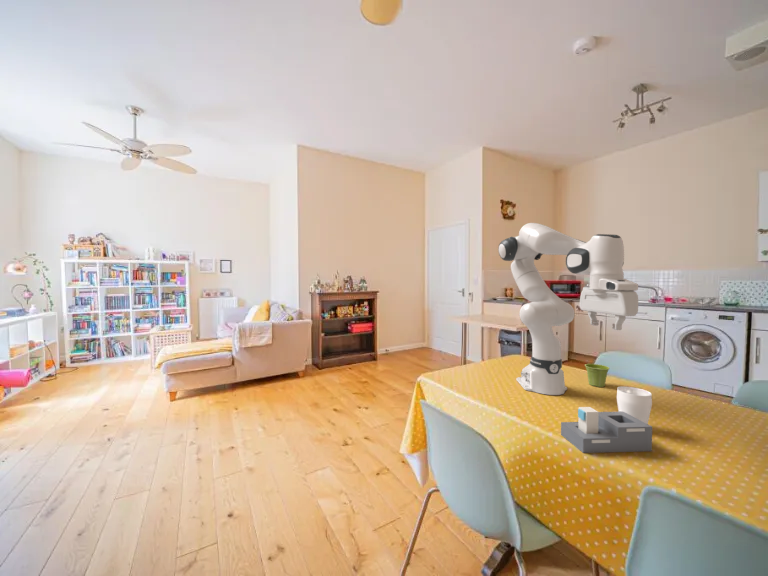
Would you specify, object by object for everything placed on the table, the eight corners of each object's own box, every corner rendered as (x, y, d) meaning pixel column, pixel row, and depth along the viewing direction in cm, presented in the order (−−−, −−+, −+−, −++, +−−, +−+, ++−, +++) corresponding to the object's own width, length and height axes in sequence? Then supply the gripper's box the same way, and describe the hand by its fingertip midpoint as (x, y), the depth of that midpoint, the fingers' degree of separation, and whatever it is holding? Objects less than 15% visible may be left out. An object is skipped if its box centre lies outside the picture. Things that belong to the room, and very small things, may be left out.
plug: (576, 436, 93) (576, 407, 93) (589, 436, 93) (589, 406, 93) (584, 442, 89) (585, 412, 89) (597, 442, 90) (598, 411, 89)
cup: (616, 418, 108) (617, 384, 107) (650, 426, 102) (651, 390, 102) (615, 427, 101) (616, 391, 100) (651, 436, 95) (652, 398, 95)
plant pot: (580, 381, 147) (580, 363, 147) (600, 381, 146) (600, 363, 146) (592, 388, 138) (592, 369, 137) (614, 388, 137) (614, 369, 137)
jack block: (560, 434, 96) (561, 412, 96) (622, 433, 97) (623, 411, 97) (583, 453, 86) (584, 428, 86) (652, 451, 87) (652, 426, 87)
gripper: (574, 283, 109) (574, 322, 109) (622, 284, 88) (621, 332, 89) (592, 284, 109) (591, 322, 109) (643, 284, 89) (642, 332, 89)
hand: (605, 327), depth 99 cm, fingers open, 8 cm apart
